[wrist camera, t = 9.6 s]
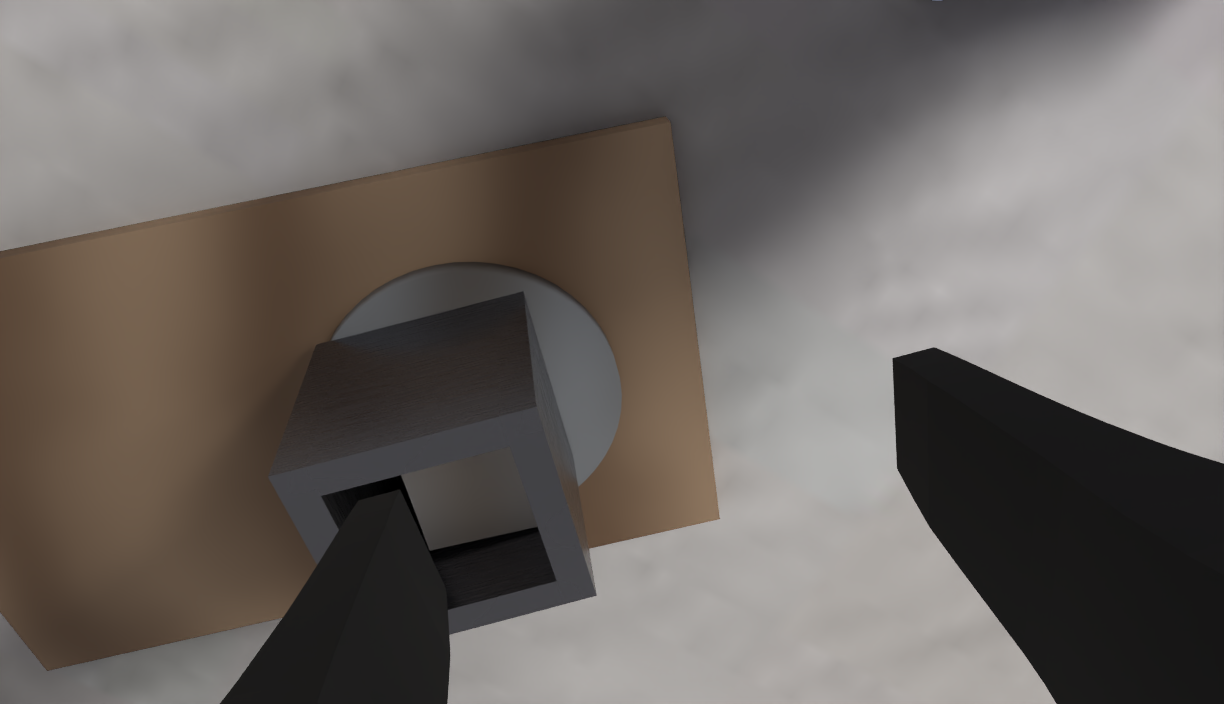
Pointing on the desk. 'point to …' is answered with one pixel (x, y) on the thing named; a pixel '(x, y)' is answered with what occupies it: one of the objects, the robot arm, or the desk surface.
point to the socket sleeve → (442, 449)
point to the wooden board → (278, 360)
